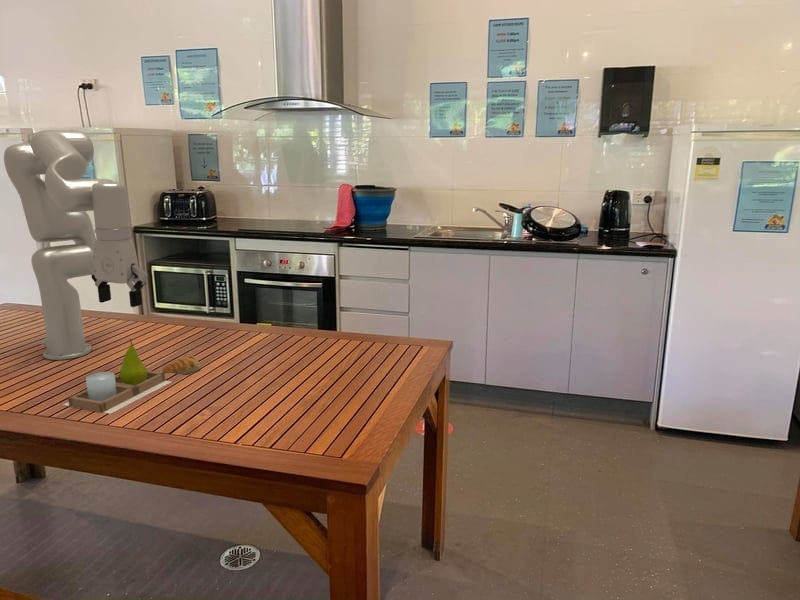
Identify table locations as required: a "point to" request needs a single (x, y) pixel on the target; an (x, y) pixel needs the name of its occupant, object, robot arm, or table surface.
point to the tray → (119, 394)
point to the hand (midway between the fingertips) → (120, 303)
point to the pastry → (183, 366)
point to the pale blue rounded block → (101, 386)
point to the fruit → (132, 368)
